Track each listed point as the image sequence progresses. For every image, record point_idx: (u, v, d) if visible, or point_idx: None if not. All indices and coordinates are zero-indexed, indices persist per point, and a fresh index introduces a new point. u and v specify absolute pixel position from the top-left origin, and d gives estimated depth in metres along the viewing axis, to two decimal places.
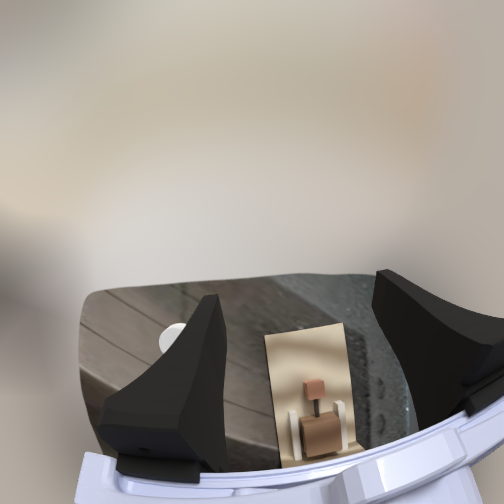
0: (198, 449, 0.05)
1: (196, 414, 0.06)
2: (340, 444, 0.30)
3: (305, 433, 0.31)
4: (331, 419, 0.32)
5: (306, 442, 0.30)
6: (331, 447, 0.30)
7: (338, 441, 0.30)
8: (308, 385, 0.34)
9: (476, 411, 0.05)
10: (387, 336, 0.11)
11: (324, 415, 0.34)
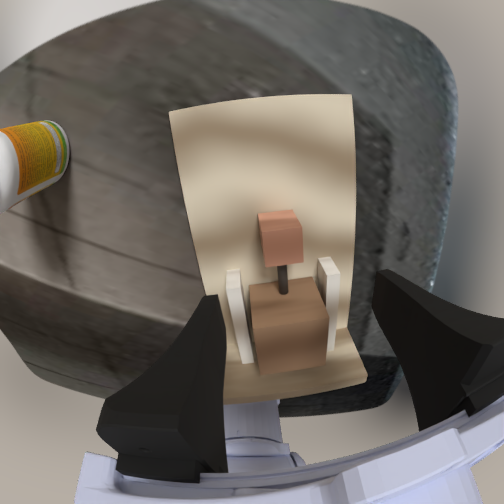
0: (198, 449, 0.05)
1: (196, 414, 0.06)
2: (322, 358, 0.19)
3: (256, 339, 0.18)
4: (311, 312, 0.18)
5: (258, 354, 0.19)
6: (305, 362, 0.19)
7: (320, 353, 0.19)
8: (265, 234, 0.16)
9: (476, 411, 0.05)
10: (387, 336, 0.11)
11: (298, 291, 0.20)
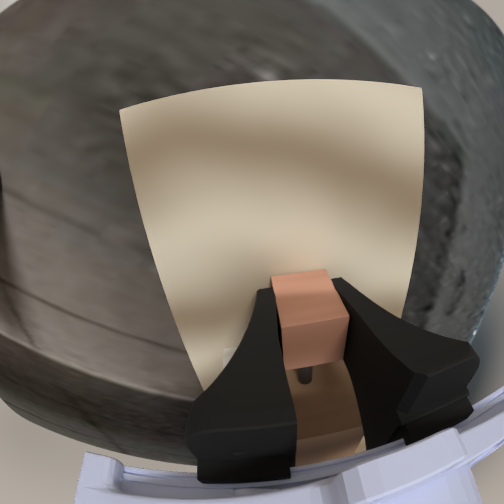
0: None
1: None
2: (350, 452, 0.12)
3: None
4: (345, 416, 0.11)
5: None
6: (328, 458, 0.12)
7: (348, 451, 0.12)
8: (287, 330, 0.09)
9: (416, 441, 0.05)
10: None
11: (325, 378, 0.13)
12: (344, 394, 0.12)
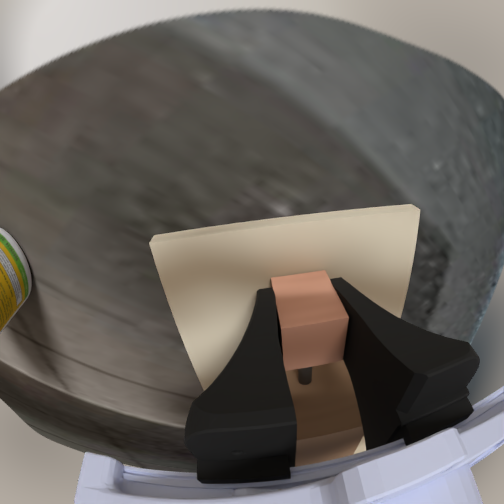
0: None
1: None
2: (350, 452, 0.12)
3: None
4: (344, 416, 0.11)
5: None
6: (328, 458, 0.12)
7: (348, 451, 0.12)
8: (287, 331, 0.09)
9: (416, 442, 0.05)
10: None
11: (325, 378, 0.13)
12: (344, 394, 0.12)
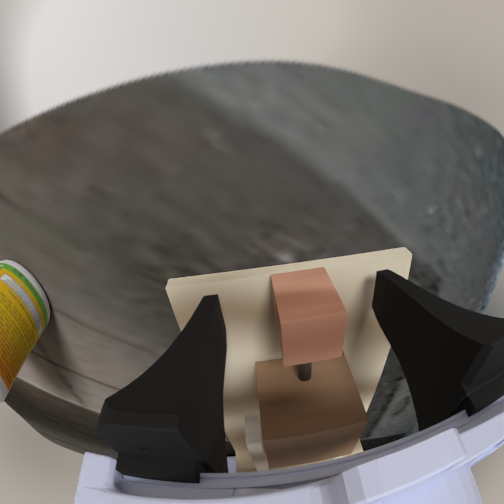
0: (198, 449, 0.05)
1: (196, 414, 0.06)
2: (349, 449, 0.12)
3: (266, 447, 0.11)
4: (344, 413, 0.11)
5: (268, 456, 0.12)
6: (328, 455, 0.12)
7: (347, 448, 0.12)
8: (286, 327, 0.09)
9: (476, 411, 0.05)
10: (387, 336, 0.11)
11: (325, 375, 0.13)
12: (343, 391, 0.12)
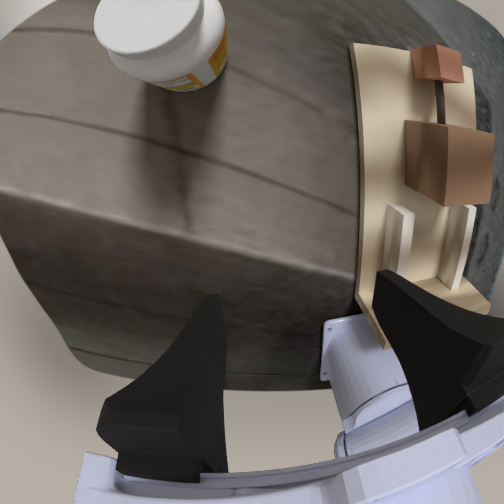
0: (198, 449, 0.05)
1: (196, 414, 0.06)
2: (488, 190, 0.14)
3: (448, 144, 0.12)
4: None
5: (448, 168, 0.13)
6: (478, 193, 0.14)
7: (488, 182, 0.13)
8: (438, 47, 0.11)
9: (476, 411, 0.05)
10: (387, 336, 0.11)
11: (452, 125, 0.15)
12: (469, 128, 0.13)
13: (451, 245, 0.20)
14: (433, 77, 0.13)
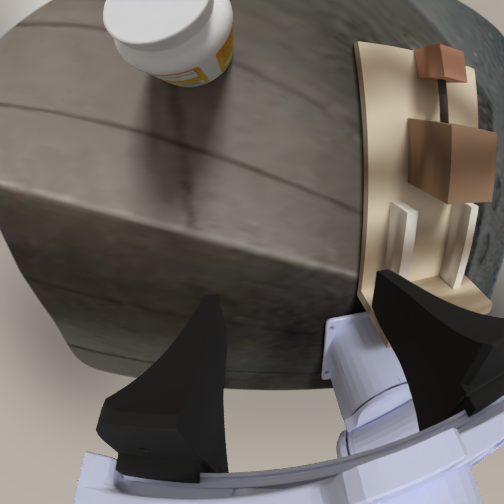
0: (198, 449, 0.05)
1: (196, 414, 0.06)
2: (491, 189, 0.13)
3: (452, 142, 0.12)
4: (481, 129, 0.12)
5: (451, 166, 0.13)
6: (481, 191, 0.14)
7: (490, 181, 0.13)
8: (442, 46, 0.11)
9: (476, 411, 0.05)
10: (387, 336, 0.11)
11: (455, 124, 0.15)
12: (472, 127, 0.13)
13: (453, 244, 0.20)
14: (436, 76, 0.13)
